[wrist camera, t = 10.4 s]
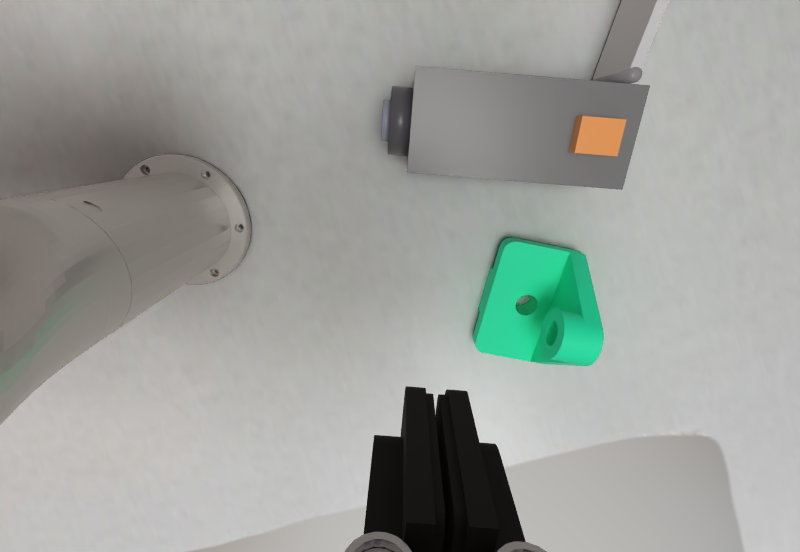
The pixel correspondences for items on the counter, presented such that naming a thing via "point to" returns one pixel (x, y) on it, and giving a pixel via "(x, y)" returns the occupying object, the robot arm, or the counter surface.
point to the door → (630, 40)
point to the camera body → (514, 127)
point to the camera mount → (539, 306)
